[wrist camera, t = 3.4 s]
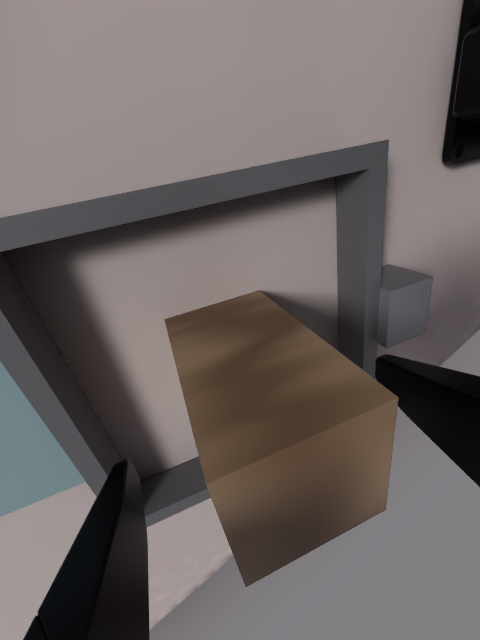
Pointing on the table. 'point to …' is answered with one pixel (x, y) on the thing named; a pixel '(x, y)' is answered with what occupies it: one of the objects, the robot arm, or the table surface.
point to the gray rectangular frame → (58, 222)
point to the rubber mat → (28, 453)
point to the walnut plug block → (281, 430)
